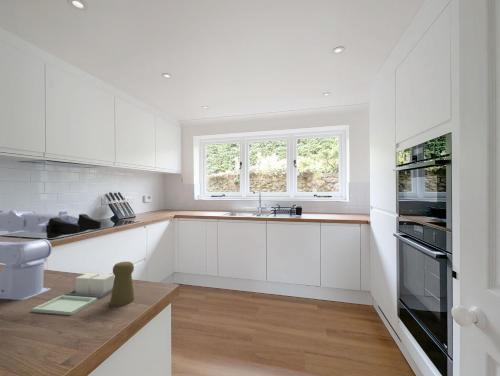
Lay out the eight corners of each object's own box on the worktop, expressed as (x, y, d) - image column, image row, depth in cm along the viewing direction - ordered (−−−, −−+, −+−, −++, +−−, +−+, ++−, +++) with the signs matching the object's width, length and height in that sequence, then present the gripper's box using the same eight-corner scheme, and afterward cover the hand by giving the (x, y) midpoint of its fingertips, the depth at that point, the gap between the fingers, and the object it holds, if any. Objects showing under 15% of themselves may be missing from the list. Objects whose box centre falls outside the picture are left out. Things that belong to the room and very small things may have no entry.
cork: (123, 308, 61) (125, 266, 62) (104, 306, 62) (105, 264, 63) (139, 299, 67) (140, 260, 67) (121, 296, 68) (122, 259, 69)
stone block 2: (90, 294, 69) (91, 278, 69) (101, 288, 73) (101, 274, 73) (103, 295, 68) (103, 279, 68) (113, 289, 72) (114, 274, 73)
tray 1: (32, 313, 58) (32, 308, 58) (62, 299, 66) (62, 295, 66) (71, 317, 57) (71, 312, 57) (96, 302, 65) (97, 297, 65)
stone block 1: (75, 292, 69) (75, 277, 70) (87, 287, 74) (87, 273, 74) (88, 293, 69) (88, 278, 69) (99, 288, 73) (99, 273, 73)
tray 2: (65, 297, 67) (65, 293, 67) (90, 286, 76) (90, 282, 76) (99, 300, 66) (99, 296, 66) (121, 288, 75) (121, 284, 75)
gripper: (22, 212, 62) (68, 216, 60) (70, 208, 76) (108, 211, 75) (20, 238, 62) (66, 243, 60) (68, 229, 76) (107, 233, 75)
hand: (89, 227), depth 67 cm, fingers open, 7 cm apart
